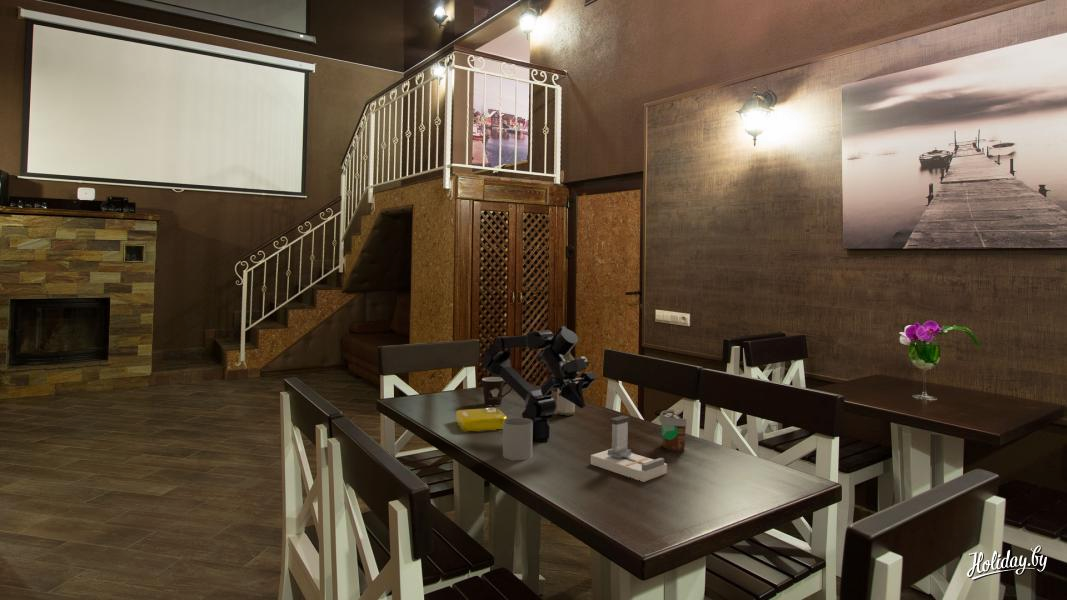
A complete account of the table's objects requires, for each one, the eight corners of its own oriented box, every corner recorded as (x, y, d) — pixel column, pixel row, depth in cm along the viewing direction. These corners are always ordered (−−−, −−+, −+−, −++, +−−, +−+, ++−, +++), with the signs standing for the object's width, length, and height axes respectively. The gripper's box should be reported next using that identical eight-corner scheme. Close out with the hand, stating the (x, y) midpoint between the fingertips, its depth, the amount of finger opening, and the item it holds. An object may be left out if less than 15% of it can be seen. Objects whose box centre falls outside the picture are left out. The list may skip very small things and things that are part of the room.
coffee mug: (479, 406, 229) (479, 380, 229) (484, 401, 238) (485, 376, 237) (508, 408, 228) (509, 382, 227) (513, 402, 236) (513, 377, 235)
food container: (653, 441, 186) (654, 409, 185) (672, 440, 186) (673, 409, 186) (665, 453, 174) (666, 419, 173) (685, 453, 174) (686, 419, 174)
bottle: (563, 411, 223) (564, 331, 222) (579, 413, 219) (580, 332, 218) (552, 414, 218) (553, 333, 216) (568, 417, 214) (569, 334, 212)
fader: (607, 455, 162) (607, 418, 161) (620, 451, 166) (621, 414, 165) (618, 459, 159) (619, 421, 158) (631, 454, 163) (632, 417, 162)
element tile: (455, 422, 208) (455, 408, 208) (496, 419, 212) (496, 406, 212) (463, 433, 194) (463, 419, 193) (508, 430, 198) (508, 416, 198)
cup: (510, 462, 165) (510, 426, 164) (498, 453, 172) (498, 419, 171) (537, 457, 169) (537, 423, 168) (524, 449, 176) (524, 416, 175)
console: (590, 464, 164) (590, 449, 163) (614, 456, 170) (614, 442, 170) (643, 481, 150) (643, 466, 150) (666, 473, 157) (667, 458, 157)
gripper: (547, 350, 169) (575, 395, 161) (592, 345, 181) (620, 386, 174) (529, 374, 175) (555, 418, 167) (573, 367, 187) (599, 408, 180)
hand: (583, 407), depth 172 cm, fingers closed
